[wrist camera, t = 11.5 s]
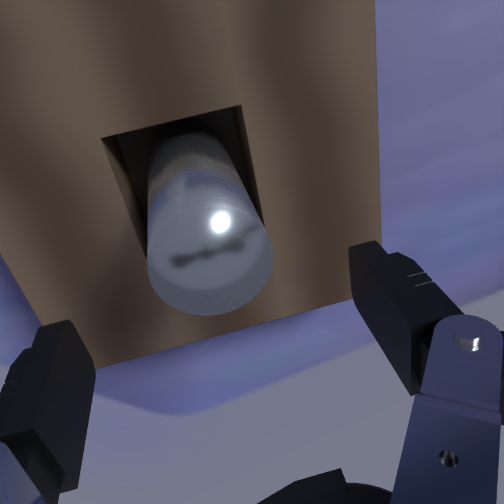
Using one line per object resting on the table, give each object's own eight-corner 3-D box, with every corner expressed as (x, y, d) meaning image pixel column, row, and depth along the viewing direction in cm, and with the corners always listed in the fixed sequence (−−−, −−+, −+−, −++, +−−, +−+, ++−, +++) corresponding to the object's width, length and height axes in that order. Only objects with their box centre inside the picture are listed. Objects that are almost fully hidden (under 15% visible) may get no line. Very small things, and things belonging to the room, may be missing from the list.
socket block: (325, -85, 20) (371, -105, 16) (350, 247, 30) (382, 290, 25) (-79, 1, 19) (-147, 5, 14) (83, 318, 28) (71, 375, 24)
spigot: (215, 109, 22) (262, 192, 13) (231, 181, 24) (281, 297, 15) (137, 127, 22) (129, 226, 13) (160, 199, 24) (167, 328, 15)
